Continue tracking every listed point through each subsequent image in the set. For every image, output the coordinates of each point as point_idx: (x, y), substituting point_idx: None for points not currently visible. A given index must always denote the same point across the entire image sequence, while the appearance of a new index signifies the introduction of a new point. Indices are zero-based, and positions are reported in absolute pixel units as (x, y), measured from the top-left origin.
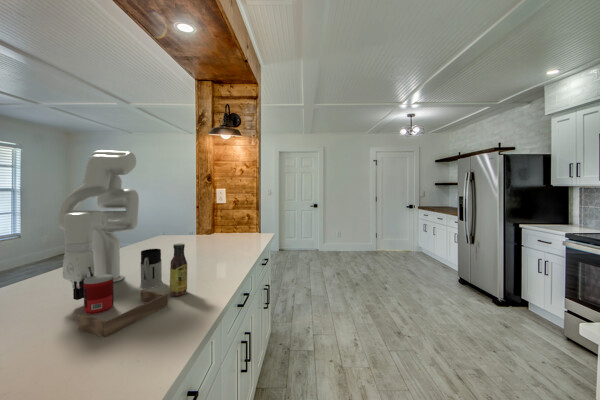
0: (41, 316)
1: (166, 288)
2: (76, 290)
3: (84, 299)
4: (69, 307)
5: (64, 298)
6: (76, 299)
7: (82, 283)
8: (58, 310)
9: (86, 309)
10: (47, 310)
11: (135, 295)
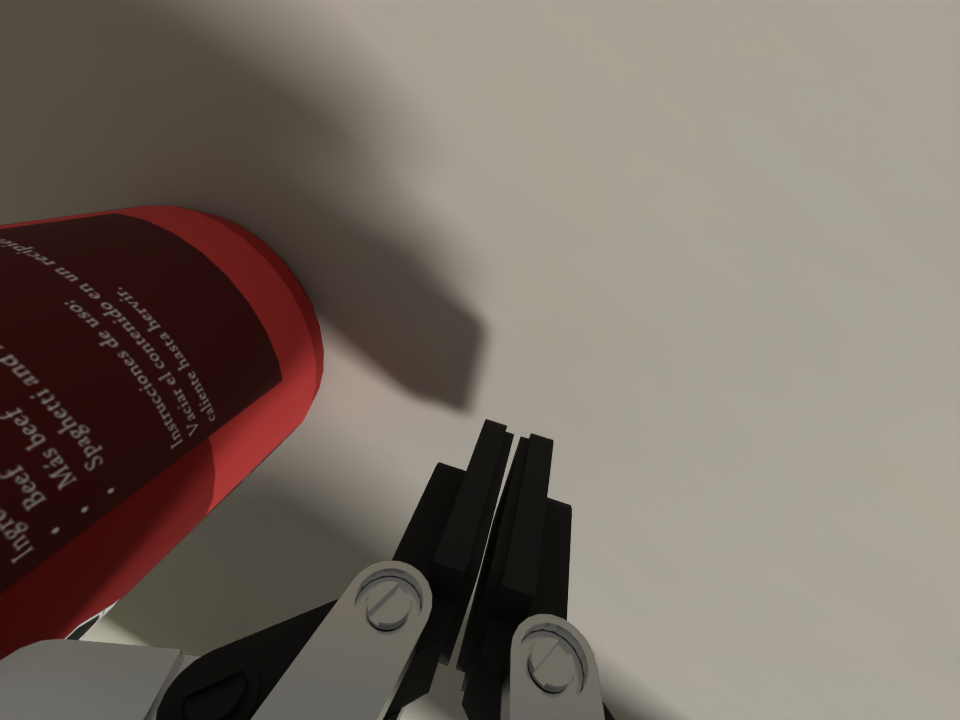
0: (776, 43)
1: (160, 641)
2: (445, 538)
3: (46, 255)
4: (596, 360)
5: (913, 586)
6: (485, 422)
7: (206, 681)
8: (671, 271)
9: (153, 212)
10: (862, 256)
11: (232, 569)
